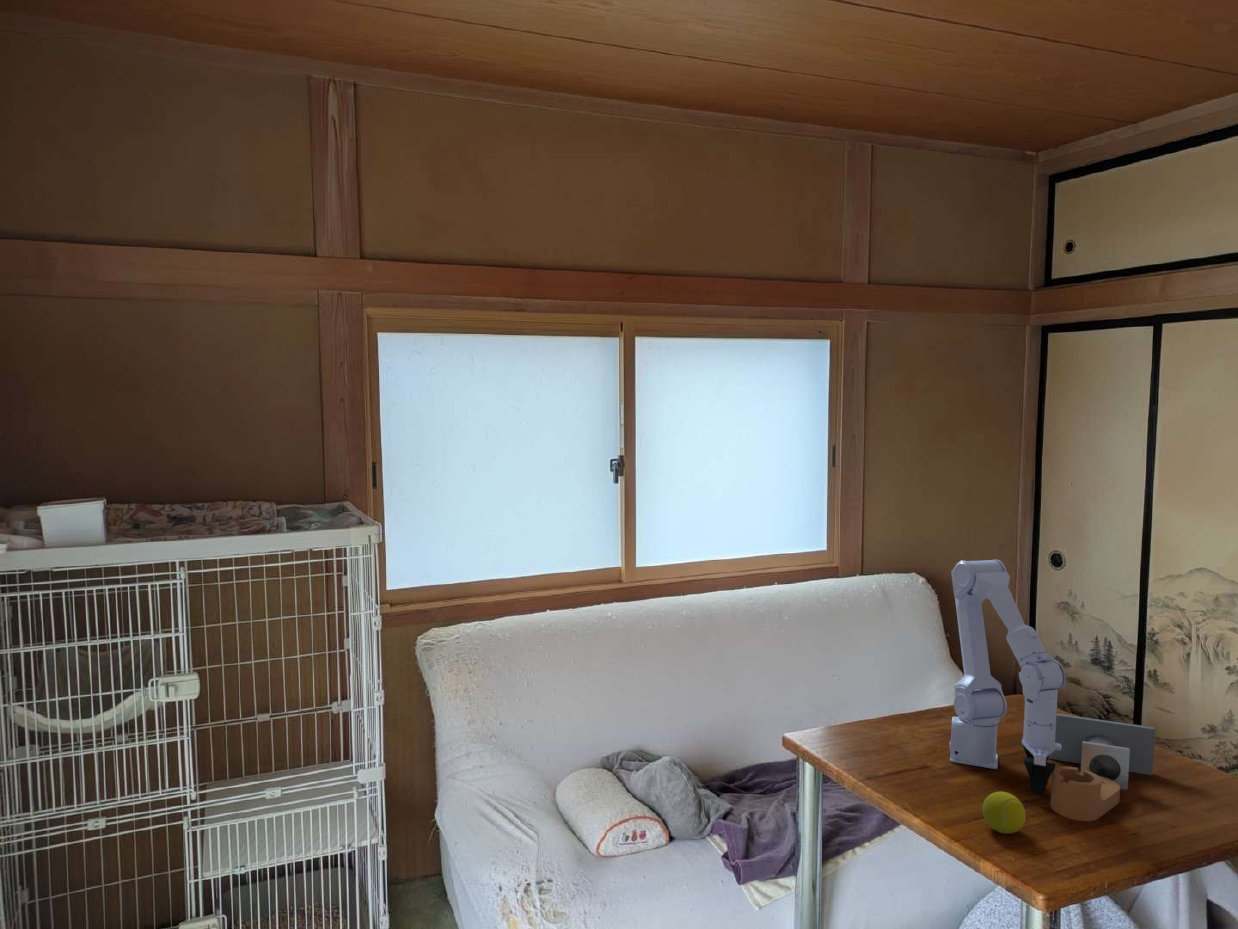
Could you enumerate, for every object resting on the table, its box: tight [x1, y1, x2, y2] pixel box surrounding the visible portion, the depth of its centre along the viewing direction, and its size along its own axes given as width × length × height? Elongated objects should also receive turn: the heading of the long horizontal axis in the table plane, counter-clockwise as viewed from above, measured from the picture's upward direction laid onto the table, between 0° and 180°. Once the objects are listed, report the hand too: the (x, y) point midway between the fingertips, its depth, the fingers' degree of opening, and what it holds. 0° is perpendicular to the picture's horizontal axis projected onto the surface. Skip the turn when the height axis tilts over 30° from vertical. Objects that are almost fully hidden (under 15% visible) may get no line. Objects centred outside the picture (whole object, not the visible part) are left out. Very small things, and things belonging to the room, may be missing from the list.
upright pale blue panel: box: [1048, 713, 1156, 791], centre depth 179 cm, size 20×12×10 cm, turn 66°
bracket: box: [1050, 766, 1121, 822], centre depth 166 cm, size 18×8×7 cm, turn 130°
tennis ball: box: [981, 791, 1027, 835], centre depth 155 cm, size 7×7×7 cm
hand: (1036, 787), depth 169 cm, fingers open, 7 cm apart
